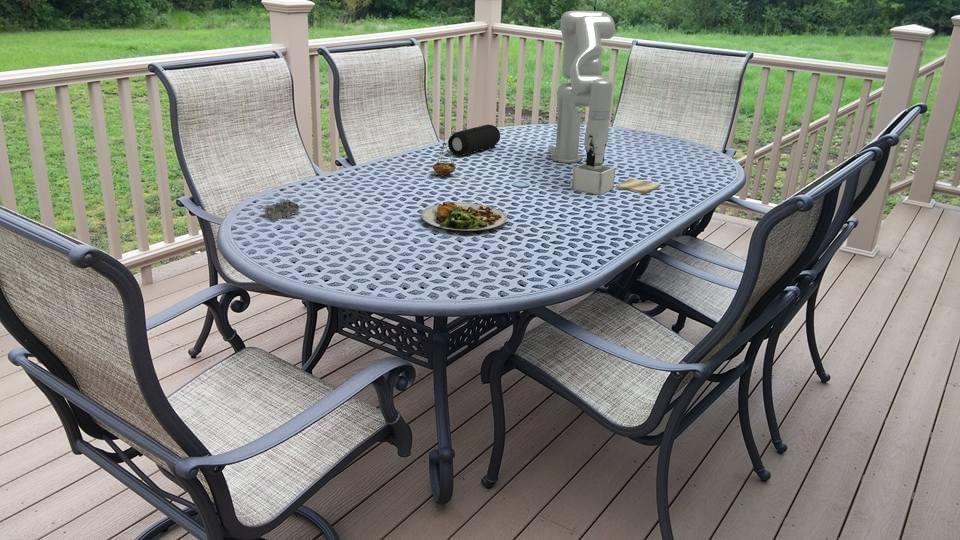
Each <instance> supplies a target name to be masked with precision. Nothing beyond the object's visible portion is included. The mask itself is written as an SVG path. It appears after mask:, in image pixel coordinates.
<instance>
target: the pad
mask: <svg viewBox="0 0 960 540" xmlns="http://www.w3.org/2000/svg"><path fill="white" fill-rule="evenodd" d="M615 188H616V189H621V190H625V191H628V190H629V192H634V193H639V194H643V195H647V194H649V193H650V192H653V191H654V190H657V189H658V188H660V184H658V183H654V182H650V181H644V180H640V179H635V178H629V179H627V180H625V181H622V182H620V183H618V184H616V185H615Z"/></svg>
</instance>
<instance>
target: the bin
mask: <svg viewBox="0 0 960 540" xmlns="http://www.w3.org/2000/svg"><path fill="white" fill-rule="evenodd" d="M587 167H588V165H586V162H584V163H582V164H579V165H577V166H574V167H573V169H572V179H571V180H572V183H571V189H573V190H575V189H576V191H580V192H585V193H589V194H593V195H599V196H601V195H603V194H605V193H607V192H609V191H611V190H613V189H614V185H615V184H614V183H615V174H616V167H614V166H609V165H603V164H602V172H601V173H599V172H595V171H590V170H587Z"/></svg>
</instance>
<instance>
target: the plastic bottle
mask: <svg viewBox="0 0 960 540" xmlns="http://www.w3.org/2000/svg"><path fill="white" fill-rule="evenodd" d="M591 146H594V145H591ZM590 149H591V150H592V151H593V149H592V148H590ZM605 152H606V147H605V148H604V146H603V145H600V146H599V147H597V148H596V150H595V154H594V155H595V165H594V166H588V167H587V170H590V171H595V172H599V173H601V172H602V165H603V163H604V162H603V157H604V158H605ZM602 162H603V163H602Z"/></svg>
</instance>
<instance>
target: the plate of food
mask: <svg viewBox="0 0 960 540" xmlns="http://www.w3.org/2000/svg"><path fill="white" fill-rule="evenodd" d="M420 217H421V219H422V220H423V221H425V222H426V224H427V223H428V224H429V225H431V226H434V227H438V228H441V229H446V230H452V231H481V230H487V229H488V230H489V229H494V228H496V227H499V226H501V225H503V224H504V223H506V222H507V220H508V215H507V214H506V212H503V211H502V210H500V209H499V208H497V207H496V208H495V207H492V206H488V205H484V204H478V203H470V202H448V201H443V203H439V204H435V205H431V206H428V207H427V208H425V209H423V210H422V212H421V214H420Z"/></svg>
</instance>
